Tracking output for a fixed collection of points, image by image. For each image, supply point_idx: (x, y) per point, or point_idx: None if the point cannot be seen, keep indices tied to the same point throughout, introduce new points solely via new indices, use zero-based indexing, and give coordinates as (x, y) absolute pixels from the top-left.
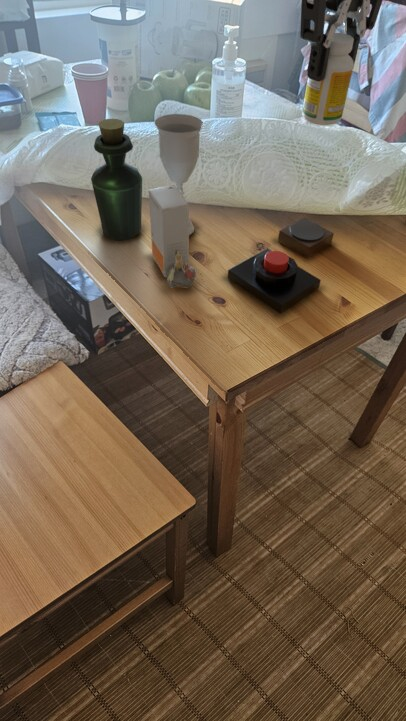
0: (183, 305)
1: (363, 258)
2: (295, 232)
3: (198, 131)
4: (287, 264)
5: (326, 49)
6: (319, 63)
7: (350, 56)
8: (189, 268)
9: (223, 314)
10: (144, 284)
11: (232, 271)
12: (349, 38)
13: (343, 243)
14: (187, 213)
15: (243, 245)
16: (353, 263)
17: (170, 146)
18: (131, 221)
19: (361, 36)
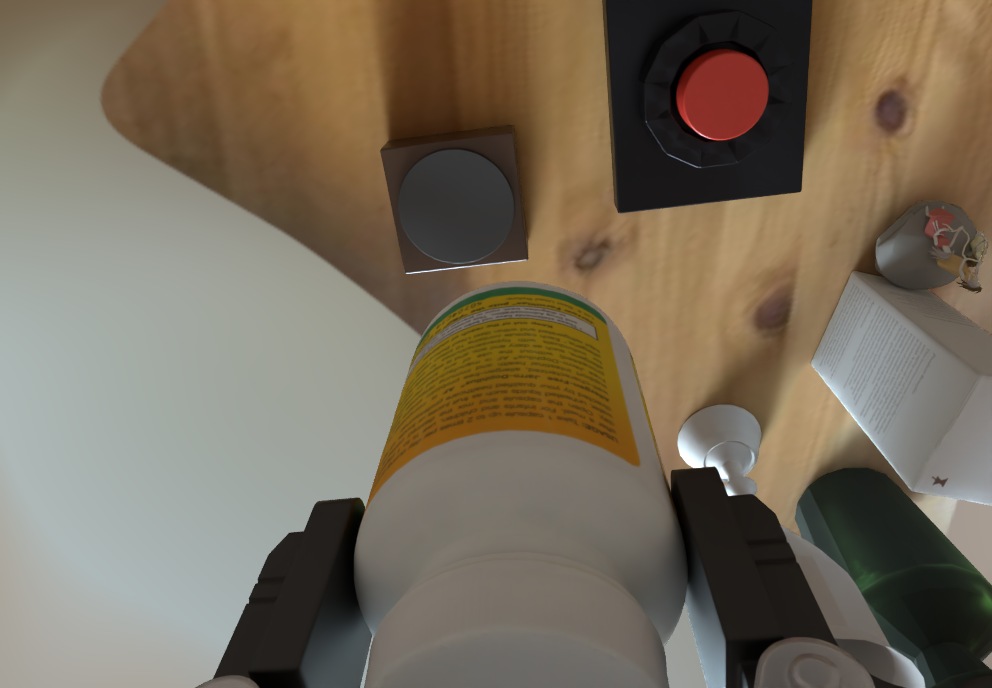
0: (983, 152)
1: (344, 13)
2: (498, 219)
3: None
4: (710, 54)
5: (781, 633)
6: (773, 563)
7: (339, 578)
8: (915, 245)
9: (933, 48)
10: (985, 289)
11: (799, 176)
12: (437, 684)
13: (346, 121)
14: (967, 358)
15: (628, 286)
16: (396, 12)
17: (879, 627)
18: (880, 496)
19: (231, 686)
